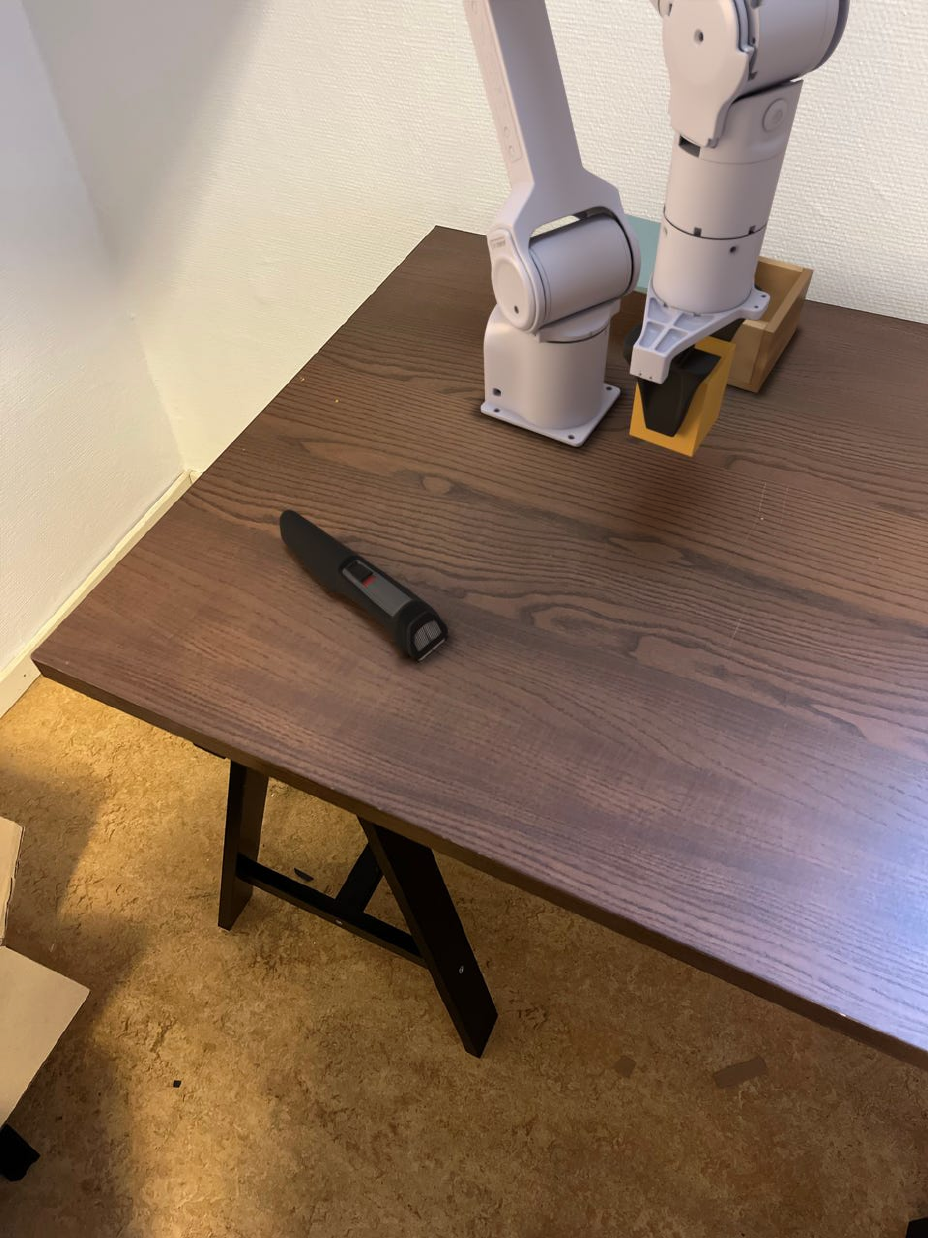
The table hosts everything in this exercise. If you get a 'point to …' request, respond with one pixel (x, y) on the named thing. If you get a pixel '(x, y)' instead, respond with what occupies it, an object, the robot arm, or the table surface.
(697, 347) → the block
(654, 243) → the teal lid
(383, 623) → the electric trimmer
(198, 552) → the table surface
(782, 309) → the box
